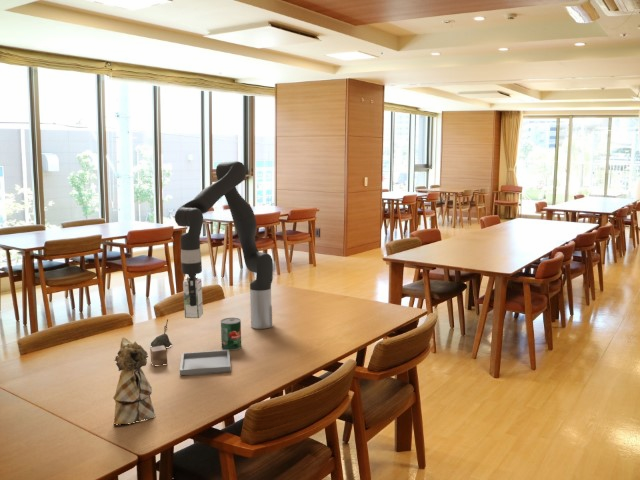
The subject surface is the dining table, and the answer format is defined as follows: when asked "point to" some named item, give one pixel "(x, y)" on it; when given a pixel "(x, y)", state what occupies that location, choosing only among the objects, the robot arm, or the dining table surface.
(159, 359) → the walnut block
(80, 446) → the dining table surface
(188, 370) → the slate tray
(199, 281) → the syrup box
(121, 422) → the plush toy
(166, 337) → the sword in stone
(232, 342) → the canned tomato
